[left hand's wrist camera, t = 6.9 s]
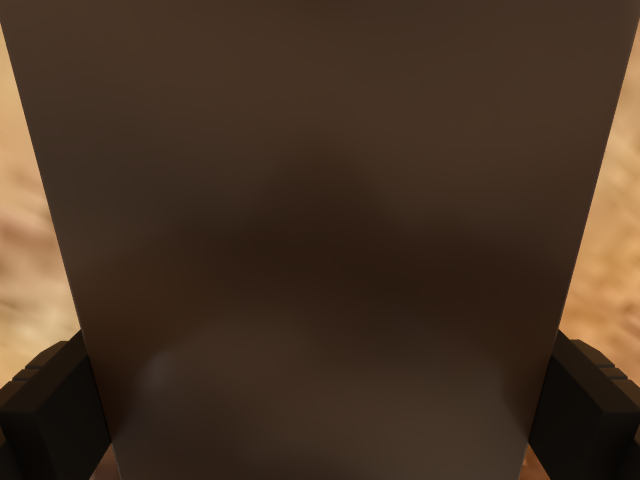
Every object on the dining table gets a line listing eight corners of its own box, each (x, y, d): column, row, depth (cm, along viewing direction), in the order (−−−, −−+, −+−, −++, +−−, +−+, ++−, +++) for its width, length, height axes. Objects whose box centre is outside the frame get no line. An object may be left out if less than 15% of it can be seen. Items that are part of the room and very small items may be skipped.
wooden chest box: (151, -135, 12) (-157, -560, 4) (487, -135, 12) (794, -558, 4) (210, 348, 18) (131, 529, 11) (428, 348, 18) (508, 528, 11)
